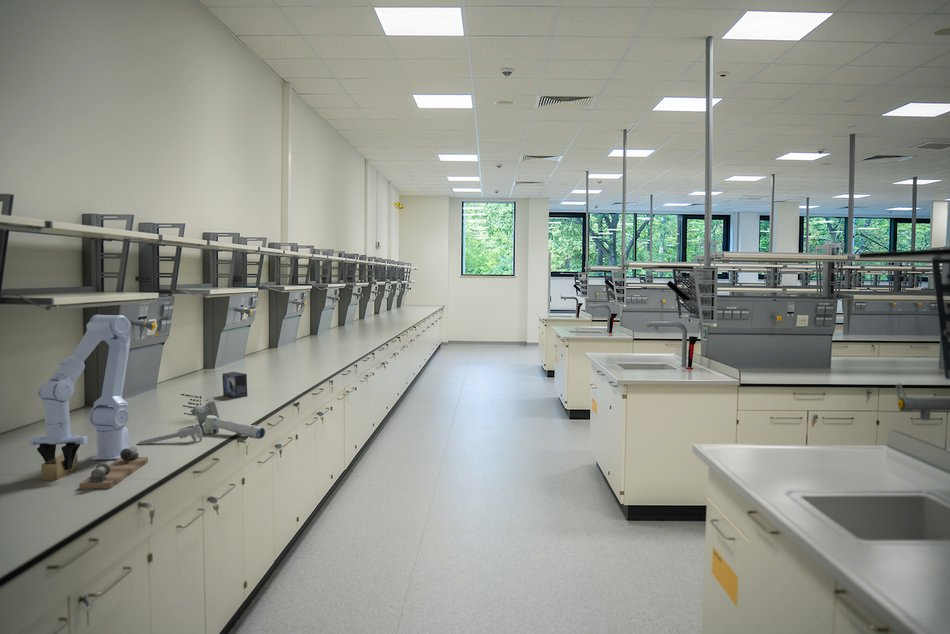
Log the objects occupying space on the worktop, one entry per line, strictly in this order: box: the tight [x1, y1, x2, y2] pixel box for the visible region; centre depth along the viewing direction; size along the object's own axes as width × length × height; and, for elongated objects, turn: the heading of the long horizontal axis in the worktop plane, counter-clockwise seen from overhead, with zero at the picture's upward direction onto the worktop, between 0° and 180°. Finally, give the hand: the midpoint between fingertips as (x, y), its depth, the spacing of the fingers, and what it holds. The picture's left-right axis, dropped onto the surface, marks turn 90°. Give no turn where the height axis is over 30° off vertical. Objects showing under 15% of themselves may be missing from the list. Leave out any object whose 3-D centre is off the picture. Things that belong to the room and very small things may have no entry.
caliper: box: [136, 423, 203, 445], centre depth 203 cm, size 20×1×6 cm, turn 102°
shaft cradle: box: [78, 446, 149, 490], centre depth 171 cm, size 22×8×6 cm, turn 5°
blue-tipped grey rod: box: [201, 415, 266, 440], centre depth 212 cm, size 5×7×25 cm
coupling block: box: [40, 452, 79, 481], centre depth 171 cm, size 10×4×4 cm, turn 5°
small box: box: [222, 371, 248, 399], centre depth 278 cm, size 11×6×10 cm, turn 54°
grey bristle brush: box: [180, 393, 220, 427], centre depth 229 cm, size 27×11×10 cm, turn 60°
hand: (60, 469), depth 171 cm, fingers closed on coupling block, 4 cm apart
